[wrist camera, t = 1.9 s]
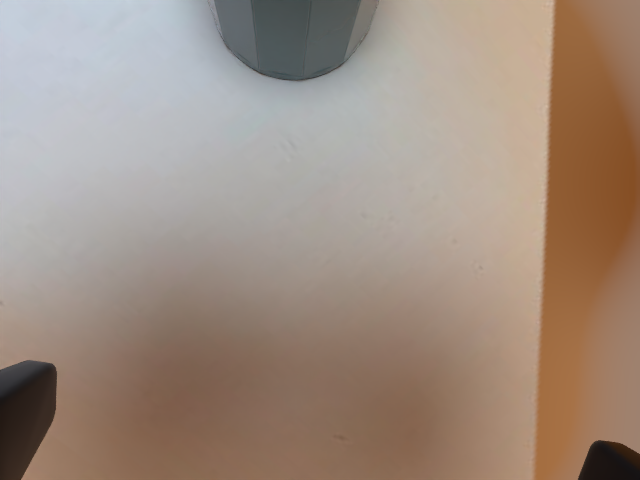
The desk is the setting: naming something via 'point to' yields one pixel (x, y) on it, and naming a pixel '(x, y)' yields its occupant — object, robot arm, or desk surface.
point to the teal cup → (293, 33)
